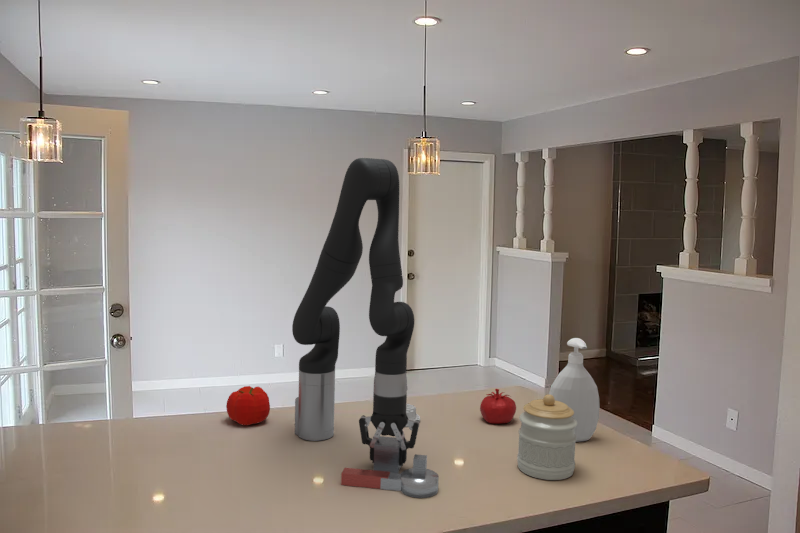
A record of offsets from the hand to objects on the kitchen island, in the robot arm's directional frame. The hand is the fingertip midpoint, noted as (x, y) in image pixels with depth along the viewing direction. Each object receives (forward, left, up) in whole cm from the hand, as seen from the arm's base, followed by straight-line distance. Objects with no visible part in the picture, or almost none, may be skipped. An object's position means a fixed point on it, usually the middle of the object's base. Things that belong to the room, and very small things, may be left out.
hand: (388, 463), depth 143 cm
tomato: (-47, +6, -1) cm, 47 cm away
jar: (+31, +19, -1) cm, 36 cm away
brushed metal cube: (0, 0, -1) cm, 1 cm away
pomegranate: (+10, +45, -1) cm, 46 cm away
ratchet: (+5, -8, -1) cm, 10 cm away
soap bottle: (+32, +41, -1) cm, 52 cm away
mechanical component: (-12, +30, -2) cm, 32 cm away
